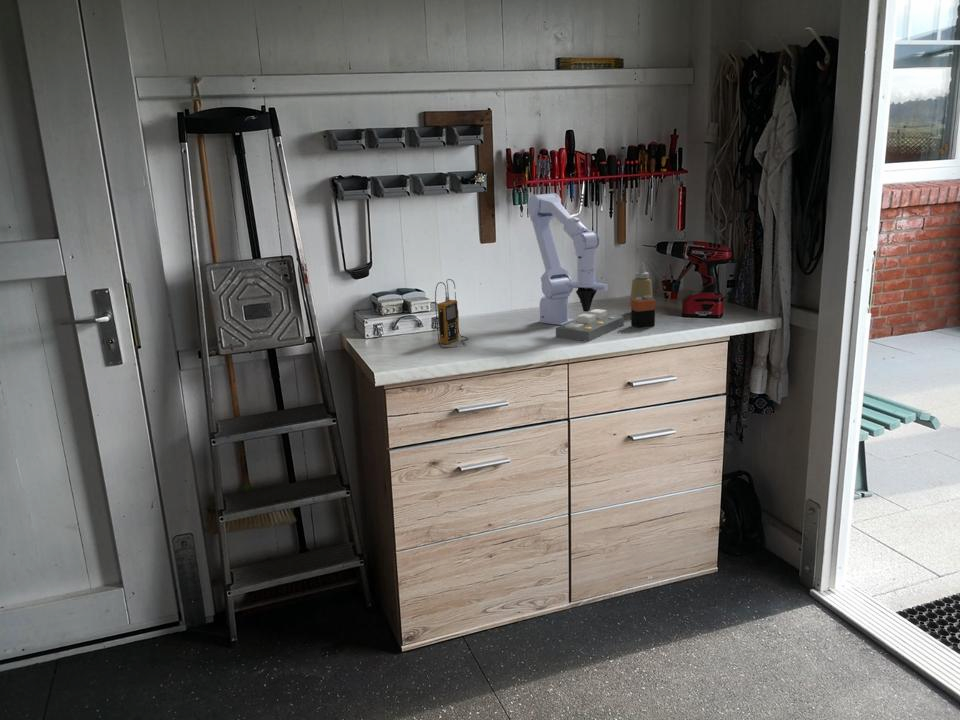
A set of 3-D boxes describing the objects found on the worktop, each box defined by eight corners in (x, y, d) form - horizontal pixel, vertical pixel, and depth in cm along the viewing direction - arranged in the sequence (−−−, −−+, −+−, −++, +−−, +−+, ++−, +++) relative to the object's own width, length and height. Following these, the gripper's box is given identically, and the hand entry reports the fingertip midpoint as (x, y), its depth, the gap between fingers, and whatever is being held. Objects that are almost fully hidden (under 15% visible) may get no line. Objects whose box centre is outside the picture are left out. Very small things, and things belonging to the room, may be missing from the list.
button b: (577, 325, 256) (577, 316, 255) (583, 322, 259) (583, 313, 259) (589, 326, 253) (589, 317, 253) (595, 323, 257) (595, 314, 256)
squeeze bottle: (635, 309, 284) (636, 260, 279) (656, 311, 280) (657, 261, 275) (625, 313, 278) (626, 263, 273) (647, 316, 273) (648, 265, 269)
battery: (655, 326, 259) (655, 296, 256) (636, 328, 257) (637, 298, 254) (648, 323, 263) (649, 294, 260) (630, 325, 261) (630, 296, 258)
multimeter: (459, 350, 239) (456, 286, 234) (432, 347, 244) (429, 283, 239) (484, 339, 251) (482, 277, 245) (458, 336, 256) (455, 276, 251)
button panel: (555, 336, 250) (555, 327, 249) (591, 321, 269) (591, 312, 268) (588, 341, 243) (588, 331, 243) (623, 325, 262) (623, 315, 261)
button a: (564, 334, 250) (564, 325, 249) (571, 331, 254) (571, 322, 253) (576, 336, 248) (576, 327, 247) (583, 333, 251) (583, 324, 250)
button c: (589, 320, 262) (589, 311, 261) (595, 317, 266) (595, 308, 265) (600, 321, 260) (600, 312, 259) (607, 318, 263) (607, 310, 262)
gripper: (560, 270, 253) (561, 311, 256) (600, 272, 244) (600, 315, 248) (571, 266, 258) (571, 307, 262) (611, 269, 250) (610, 311, 253)
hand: (586, 310), depth 255 cm, fingers closed
